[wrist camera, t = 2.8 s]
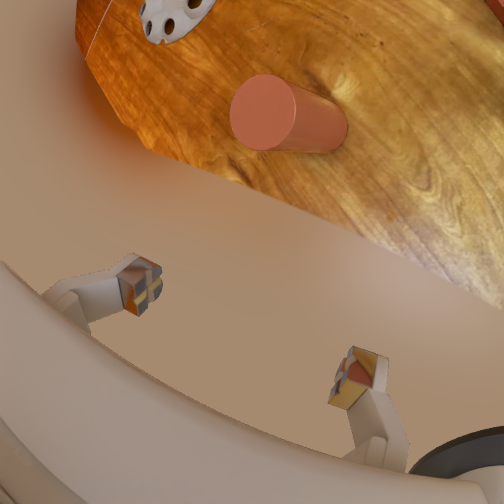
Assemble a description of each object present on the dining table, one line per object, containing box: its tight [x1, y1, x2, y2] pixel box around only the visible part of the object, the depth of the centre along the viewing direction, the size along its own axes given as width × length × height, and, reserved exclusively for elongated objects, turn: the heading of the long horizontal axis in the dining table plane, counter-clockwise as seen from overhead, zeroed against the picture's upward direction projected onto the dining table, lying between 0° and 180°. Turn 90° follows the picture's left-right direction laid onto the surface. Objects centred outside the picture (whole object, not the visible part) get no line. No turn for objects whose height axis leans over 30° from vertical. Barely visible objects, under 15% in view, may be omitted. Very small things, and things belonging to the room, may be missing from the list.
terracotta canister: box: [230, 74, 348, 154], centre depth 23 cm, size 6×6×10 cm
